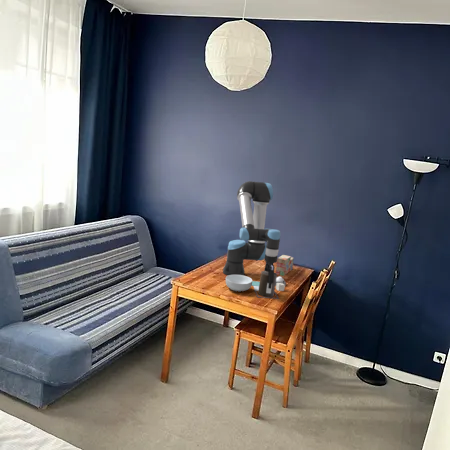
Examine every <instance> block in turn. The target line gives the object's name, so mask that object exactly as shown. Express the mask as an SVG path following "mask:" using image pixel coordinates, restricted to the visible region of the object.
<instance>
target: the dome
mask: <svg viewBox="0 0 450 450" xmlns="http://www.w3.org/2000/svg"><path fill="white" fill-rule="evenodd" d="M283 280H284V281H285V279H284V278H283V276H281V275H278V276H277V277H276V282H283Z"/></svg>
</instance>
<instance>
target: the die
mask: <svg viewBox="0 0 450 450" xmlns="http://www.w3.org/2000/svg"><path fill="white" fill-rule="evenodd" d="M285 288H286V286H285V285H284V284H283V283H276V286H275V290H276V291H278V292H284V291H285Z"/></svg>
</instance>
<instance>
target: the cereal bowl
mask: <svg viewBox="0 0 450 450" xmlns="http://www.w3.org/2000/svg"><path fill="white" fill-rule="evenodd" d="M252 281H253V279H252V278H251V277H249V276H246V275H245V274H244V275H226V277H225V284H226V287H227V288H229V289H230V290H232V291H234V292H237V291H238V292H237V293H239V292H240V293H241V291H242V292H244V291H247V290H249V289H250V288H251V287H253V286H252Z"/></svg>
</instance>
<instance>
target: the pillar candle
mask: <svg viewBox="0 0 450 450" xmlns="http://www.w3.org/2000/svg"><path fill="white" fill-rule="evenodd" d="M277 275H278V274H276V272H274V281H273V282H274V283H272V289H271V293H266V291H267V282H268V276H269V275H268V271H264V270H261V272H260V277H259V282H260V284H259V290H258V291H257V295H258V296H260V297H270V298H274V295H275V293H274V291H275V290H276V286H275V284H276V278H277V277H278V276H277Z"/></svg>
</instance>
